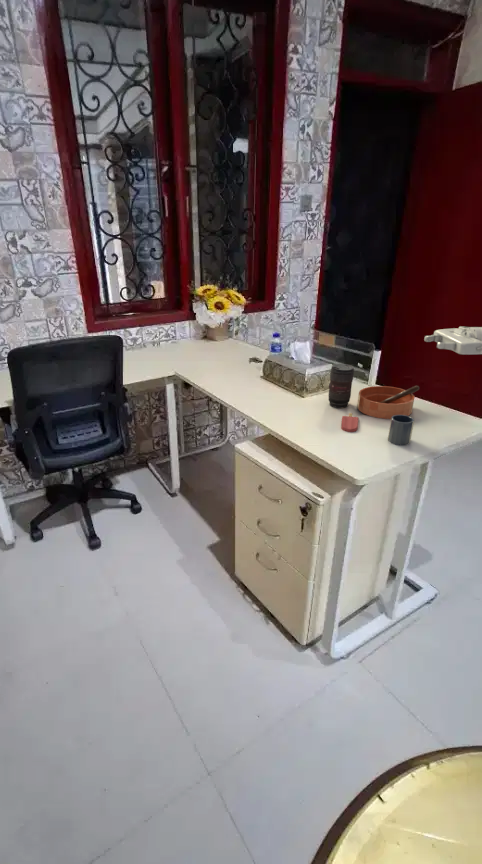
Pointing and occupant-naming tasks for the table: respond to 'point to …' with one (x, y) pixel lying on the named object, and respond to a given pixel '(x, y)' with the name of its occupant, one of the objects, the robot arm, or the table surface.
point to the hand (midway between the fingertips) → (431, 342)
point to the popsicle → (349, 423)
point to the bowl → (376, 394)
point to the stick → (400, 395)
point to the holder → (400, 429)
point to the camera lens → (340, 385)
